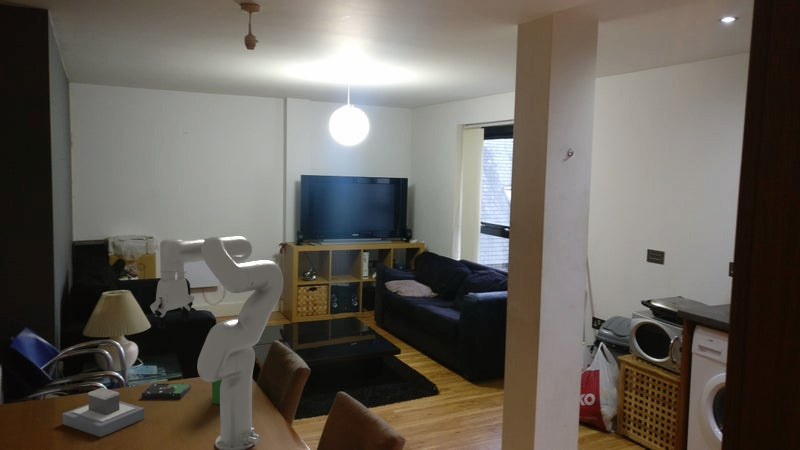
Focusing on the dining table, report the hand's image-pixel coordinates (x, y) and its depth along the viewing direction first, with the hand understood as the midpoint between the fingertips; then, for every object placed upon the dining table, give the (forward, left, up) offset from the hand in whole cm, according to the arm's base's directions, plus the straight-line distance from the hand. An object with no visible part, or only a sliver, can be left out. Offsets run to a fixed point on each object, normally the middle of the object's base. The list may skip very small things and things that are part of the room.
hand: (173, 325), depth 188 cm
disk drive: (+20, -13, -33) cm, 41 cm away
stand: (+18, +14, -32) cm, 40 cm away
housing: (+18, +14, -28) cm, 36 cm away
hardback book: (-2, -24, -32) cm, 40 cm away
